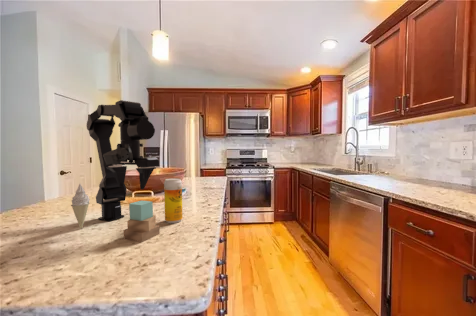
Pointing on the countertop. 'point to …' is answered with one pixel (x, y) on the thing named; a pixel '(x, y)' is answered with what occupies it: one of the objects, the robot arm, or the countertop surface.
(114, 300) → the countertop surface
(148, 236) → the slab lower
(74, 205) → the ice cream cone
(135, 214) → the teal cube
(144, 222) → the slab upper
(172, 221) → the beer can
